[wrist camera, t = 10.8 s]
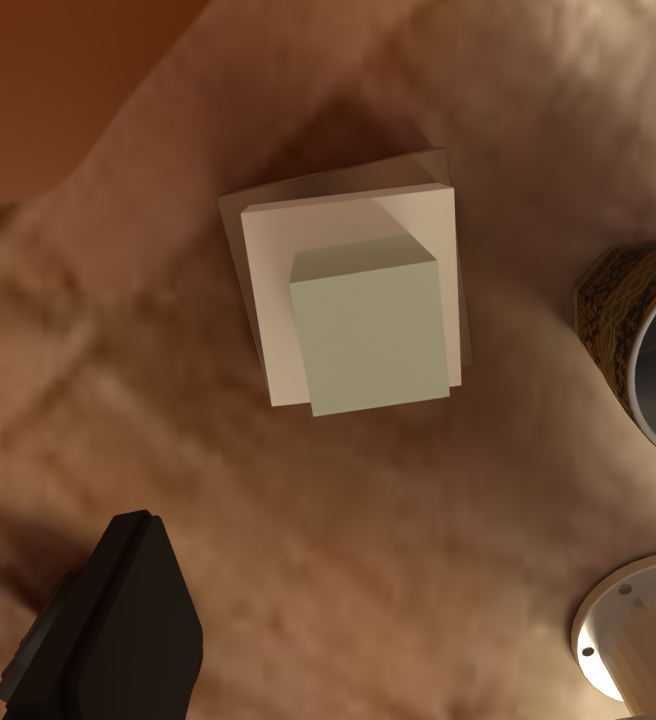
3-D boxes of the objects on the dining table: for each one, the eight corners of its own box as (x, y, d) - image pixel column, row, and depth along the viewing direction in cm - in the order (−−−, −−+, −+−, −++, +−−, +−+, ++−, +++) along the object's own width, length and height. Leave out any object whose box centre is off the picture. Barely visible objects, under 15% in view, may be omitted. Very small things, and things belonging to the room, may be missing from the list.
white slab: (437, 182, 28) (453, 188, 25) (446, 359, 31) (461, 385, 28) (249, 205, 28) (240, 213, 25) (276, 378, 31) (271, 406, 28)
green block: (410, 234, 25) (437, 260, 20) (422, 343, 27) (449, 396, 21) (295, 252, 25) (289, 283, 20) (314, 360, 27) (313, 416, 21)
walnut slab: (432, 147, 31) (445, 147, 27) (458, 343, 34) (473, 364, 31) (227, 191, 31) (216, 197, 28) (275, 379, 35) (271, 404, 32)
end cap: (213, 617, 40) (194, 705, 34) (158, 680, 42) (129, 774, 36) (85, 544, 38) (38, 623, 32) (32, 613, 40) (-21, 701, 34)
